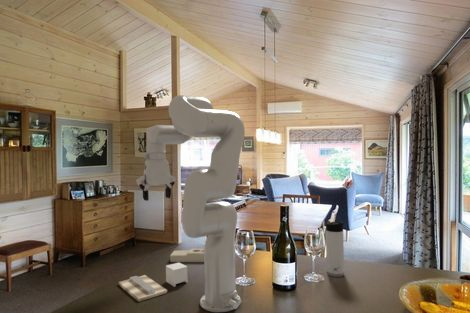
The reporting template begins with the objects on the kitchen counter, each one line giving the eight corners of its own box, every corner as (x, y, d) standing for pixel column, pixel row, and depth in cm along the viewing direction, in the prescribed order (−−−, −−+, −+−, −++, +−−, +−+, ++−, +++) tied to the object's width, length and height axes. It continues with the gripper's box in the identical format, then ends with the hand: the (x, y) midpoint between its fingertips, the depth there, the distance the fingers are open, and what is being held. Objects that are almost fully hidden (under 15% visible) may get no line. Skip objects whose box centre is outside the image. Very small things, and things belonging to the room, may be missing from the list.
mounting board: (167, 292, 110) (167, 289, 110) (138, 301, 104) (138, 298, 104) (144, 277, 124) (144, 274, 124) (118, 284, 118) (118, 282, 118)
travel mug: (339, 278, 119) (338, 224, 119) (323, 273, 124) (322, 221, 124) (347, 274, 123) (347, 221, 123) (332, 269, 128) (331, 219, 128)
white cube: (187, 282, 119) (187, 266, 119) (174, 286, 115) (173, 270, 115) (179, 277, 123) (178, 262, 123) (165, 281, 120) (165, 265, 120)
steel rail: (155, 292, 108) (155, 289, 108) (148, 294, 107) (148, 291, 107) (136, 278, 121) (136, 275, 121) (129, 280, 119) (129, 277, 119)
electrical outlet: (174, 248, 149) (213, 248, 147) (174, 257, 149) (213, 257, 148) (170, 253, 141) (211, 253, 140) (170, 262, 141) (211, 262, 140)
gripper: (139, 157, 125) (140, 202, 125) (179, 156, 136) (180, 197, 136) (132, 157, 131) (133, 200, 131) (171, 156, 142) (171, 196, 142)
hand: (157, 198), depth 134 cm, fingers open, 9 cm apart
